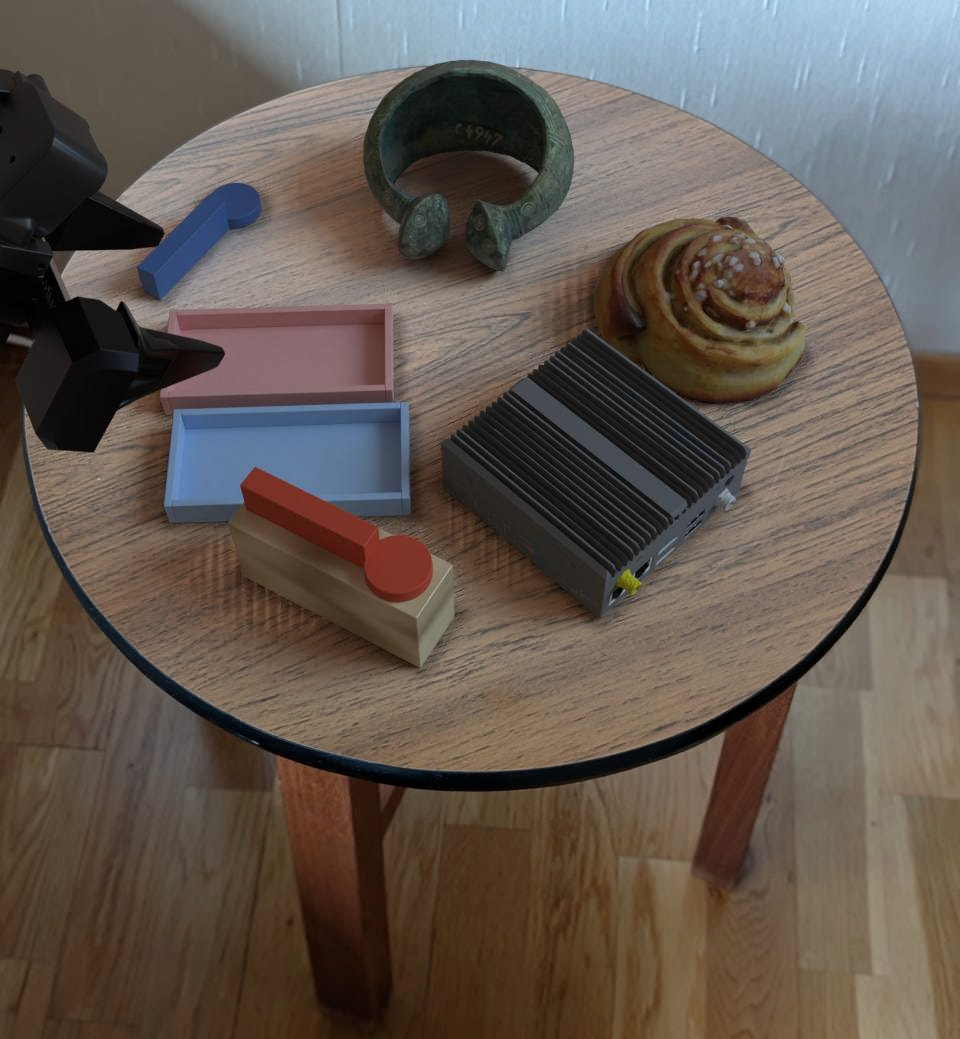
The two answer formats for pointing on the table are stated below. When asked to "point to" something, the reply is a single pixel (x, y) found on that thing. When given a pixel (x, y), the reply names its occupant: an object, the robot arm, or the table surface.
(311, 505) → the red spoon
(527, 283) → the table surface
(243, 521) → the wooden rectangular block
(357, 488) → the blue tray
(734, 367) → the pastry
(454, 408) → the table surface
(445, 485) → the electronic device
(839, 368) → the table surface
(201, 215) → the blue paddle
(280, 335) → the rose tray
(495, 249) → the bracelet
